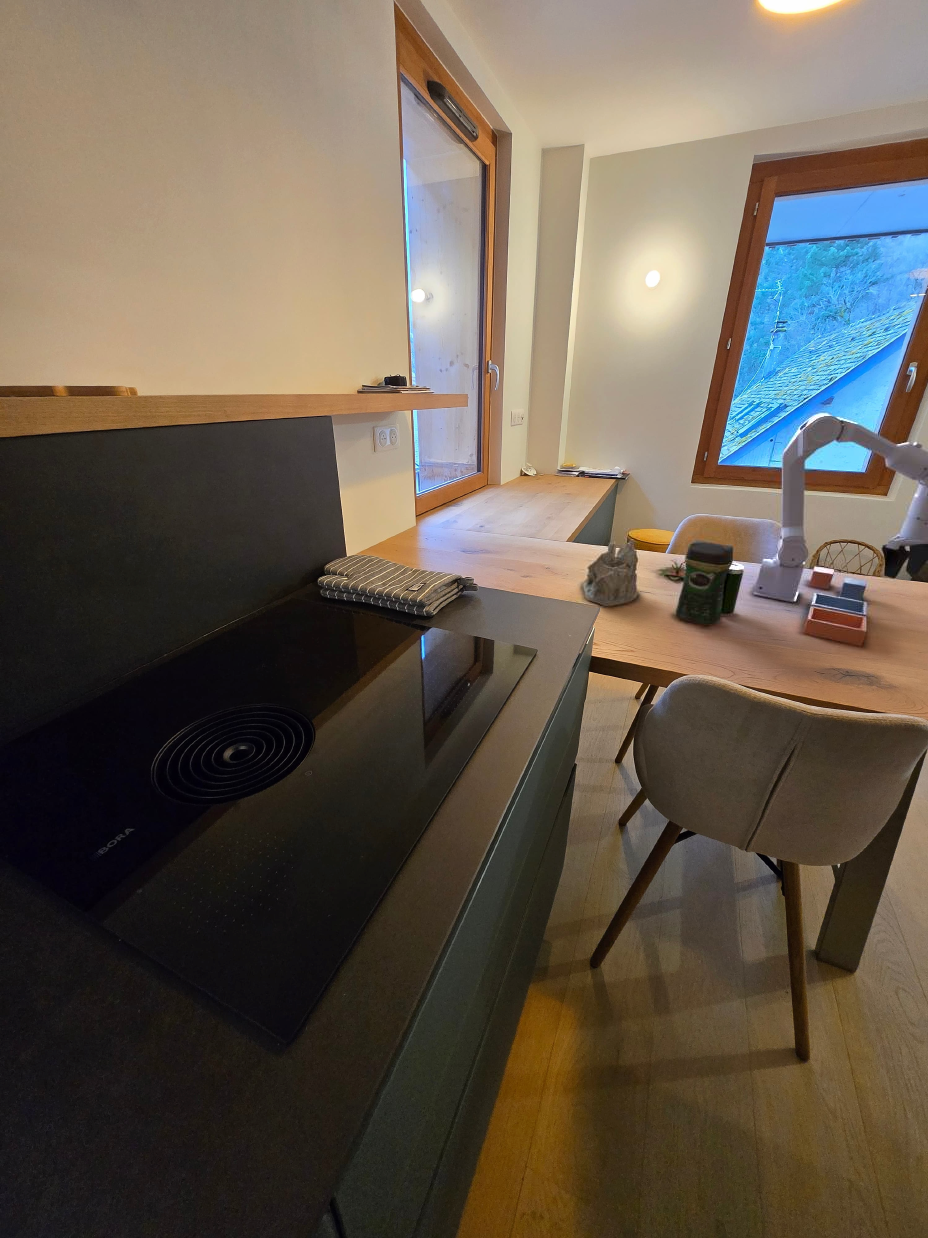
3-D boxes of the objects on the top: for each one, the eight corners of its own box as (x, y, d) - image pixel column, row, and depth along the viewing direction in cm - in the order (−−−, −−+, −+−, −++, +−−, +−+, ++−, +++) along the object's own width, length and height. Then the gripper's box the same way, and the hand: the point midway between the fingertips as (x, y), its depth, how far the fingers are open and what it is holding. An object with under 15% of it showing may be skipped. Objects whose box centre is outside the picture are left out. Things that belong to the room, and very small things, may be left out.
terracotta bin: (803, 633, 110) (807, 619, 108) (806, 619, 116) (811, 606, 115) (860, 646, 104) (866, 631, 103) (861, 631, 111) (866, 617, 109)
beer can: (725, 618, 117) (736, 571, 112) (704, 611, 121) (714, 565, 116) (737, 613, 120) (749, 566, 115) (717, 605, 124) (727, 560, 119)
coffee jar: (723, 618, 118) (740, 543, 110) (712, 629, 112) (730, 551, 104) (682, 607, 123) (695, 535, 115) (670, 618, 118) (683, 543, 110)
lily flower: (671, 584, 137) (673, 569, 135) (646, 570, 148) (649, 556, 146) (708, 580, 140) (711, 565, 138) (682, 566, 150) (684, 552, 148)
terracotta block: (808, 586, 135) (813, 570, 133) (810, 581, 138) (814, 566, 136) (828, 589, 132) (833, 574, 130) (829, 584, 135) (834, 569, 133)
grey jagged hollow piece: (602, 577, 143) (607, 527, 136) (649, 596, 131) (657, 543, 123) (563, 592, 136) (565, 540, 128) (608, 614, 124) (614, 559, 116)
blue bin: (807, 617, 117) (811, 604, 116) (810, 605, 123) (814, 592, 122) (861, 628, 112) (866, 614, 110) (862, 615, 118) (867, 602, 116)
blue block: (838, 598, 127) (844, 582, 125) (839, 593, 130) (845, 577, 128) (860, 602, 124) (866, 586, 122) (860, 596, 128) (866, 580, 126)
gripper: (921, 525, 104) (898, 584, 110) (965, 518, 109) (940, 576, 115) (886, 517, 110) (865, 574, 116) (928, 511, 115) (907, 566, 121)
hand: (900, 574), depth 116 cm, fingers open, 7 cm apart
